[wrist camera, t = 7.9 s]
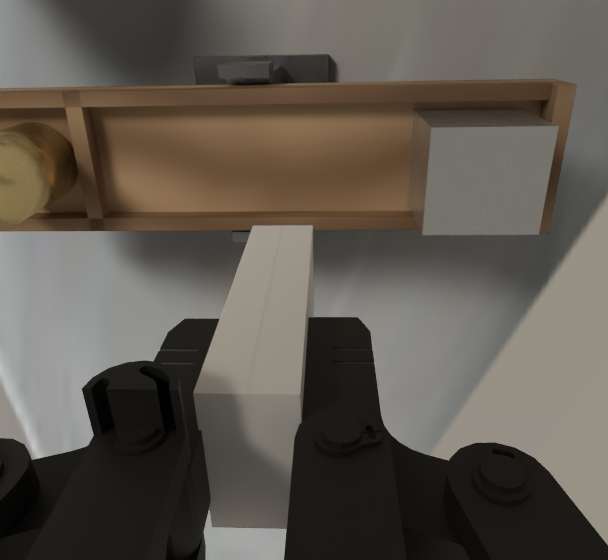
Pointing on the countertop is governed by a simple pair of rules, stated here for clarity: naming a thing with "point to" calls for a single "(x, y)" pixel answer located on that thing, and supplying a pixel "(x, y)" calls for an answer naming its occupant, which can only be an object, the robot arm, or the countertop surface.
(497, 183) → the block
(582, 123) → the countertop surface
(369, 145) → the wooden tray
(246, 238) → the fulcrum
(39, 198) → the cylinder
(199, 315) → the countertop surface
